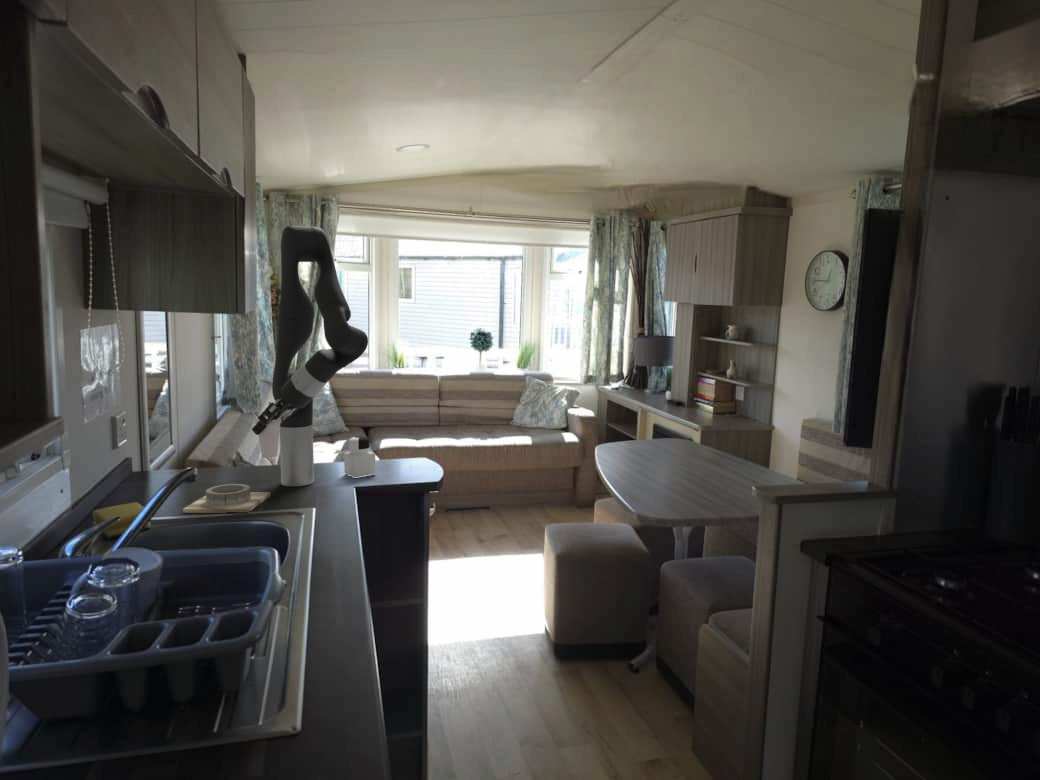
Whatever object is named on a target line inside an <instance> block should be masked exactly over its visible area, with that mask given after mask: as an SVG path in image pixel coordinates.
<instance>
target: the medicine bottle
mask: <svg viewBox="0 0 1040 780" xmlns="http://www.w3.org/2000/svg"><path fill="white" fill-rule="evenodd" d="M348 440H349V441H348V444H349V451H345V452H344V453H343V462H344V463H343V469H344V472H343V473H346V474H348V475H351V476H353V477H359V476H364V475H369V474H374V473H376V453H374V452H372V451H370V449H371V448H370V438H369V437H367V436H365V435H364V436H363V435H361V436H353V437H350V438H349V439H348Z"/></svg>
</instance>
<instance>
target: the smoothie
mask: <svg viewBox="0 0 1040 780" xmlns="http://www.w3.org/2000/svg"><path fill="white" fill-rule="evenodd" d="M270 403H272V402H271V401H268V406H269V405H270ZM266 419H268V417H266ZM259 421H260V420H259V419H258V417H257V418H255V420H254V424H255V425H256V424H257V423H258V422H259ZM281 422H282V421H281V418H279V419H278V420H277V421H275V420H274V421H273V422H272V423H270V425H268V426H267V427H266V428H265V429H264V430H263V431H262V432H261V433H260V434H259V435H257V436H258V442H259V448H260V453H261V458H268V459H269V458H274V457H275V458H276V457H278V453H279V452H278V450H279V443H280V423H281Z"/></svg>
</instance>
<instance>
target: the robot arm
mask: <svg viewBox="0 0 1040 780" xmlns="http://www.w3.org/2000/svg"><path fill="white" fill-rule="evenodd" d="M299 263H316V264H317V265H318V267H319V277H318V279H317V282H316V285H315V289H314V299H315V302H316V305H317V307H318V310H319V313H320V314H321V317H322V319H323V330H324V337H325V341H326V342H327V345H328V346H329V347H330V348H328V349H327V348H326V349H323V348H322V349H319V350H317V351H316V352H314V354H313V355H312V356H311V357H310V358H309V359H308V360H307V361H306V362H305V363H304V364H303V365H302V366H301V367H299V368H298V369H296V370H292V369H291V370H290V366H291V365H292V361H293V360H294V358H295V356H296V355H297V353H298V352H299V351H300V350H301V349H302V348H303V346H304V345H305V343H306V342H307V341H308V340H309V338H310V337H311V336H312V333H313V328H314V321H315V320H314V319H315V307H314V304H313V302H312V300H311V298H310V296H309V295H308V292H307V291H306V290H305V288H304V286H303V285H302V282H301V280H300V276H299ZM280 271H281V272H280V273H281V275H280V278H281V279H280V280H281V282H280V295H279V296H280V299H279V307H278V317H277V319H278V320H277V344H276V354H275V363H274V368H273V375H272V381H271V383H272V385H271V389H272V390H271V392H272V397H273V400H274V402H271V403H270V405H269V404H268V405H267V407H266V408H265V409H264V410H263V411H262V412H261V413H260V414H259V416H258V417H257V418H258V419H259V420H260V421H259V422H258V423H257V424H255V425H254V426H253V427H252V429H251V430H252V432H253V433H254V434H255V435H256V436H258V435H259V434H260V433H261V432H262V431H263V430H264V429H265V428H266V427H267V426H268V425H270V423H272V422H273V421H274V420H275V421H277V420H278V419H279V418H281V421H282V422H281V423H280V432H279V454H280V455H279V457H280V483H281V484H280V485H281V486H283V487H305V486H309V485H312V484H314V483H315V462H314V461H315V459H314V431H313V428H314V427H313V425H314V424H313V420H314V419H313V418H314V417H313V416H314V408H313V407H314V406H313V405H314V399H315V397H316V396H317V395H318V394H319V393H320V392H321V391H322V389H324V387H325V386H326V384H328V382H329V381H330V380H331V379H332V378H333V377H334V376H335V375H336V374H337V373H338V372H339V371H340V370H342V369H343V368H346V367H347V366H348V365H350V364H352V363H354V362H355V361H356V360H358V359H359V358H360V357H361V356H362V355H363V354H364V353H365V351H366V349H367V348H368V346H369V345H368V344H369V338H368V337H369V336H368V335H367V334H366V332H365V331H364V330H362V329H360V328H357V327H355V326H353V325H350V324H349V323H348V322H349V321H350V319H351V316H352V311H351V309H350V306H349V304H348V302H347V299H346V296H345V294H344V293H343V290H342V287H341V285H340V282H339V278H338V277H339V276H338V274H337V270H336V265H335V260H334V257H333V254H332V249H331V246H330V242H329V239H328V236H327V234H326V233H325V231H324V230H323V228H321V227H319V226H314V225H313V226H311V225H308V226H307V225H306V226H305V225H287V226H286V227H284V228H283V230H282V232H281V241H280ZM266 417H268V419H266Z"/></svg>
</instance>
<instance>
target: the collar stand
mask: <svg viewBox="0 0 1040 780" xmlns="http://www.w3.org/2000/svg"><path fill="white" fill-rule="evenodd" d="M271 496H272V495H271V492H270V491H264V492H261V491H258V492H257V491H255V492H254V491H253V492H252V491H251V487H250V485H248V484H243V483H227V484H220V485H216V486H215V485H214V486H211V487H209V488H207V489H205V495H204V496H202V497H200V498H198V499H197V500H195V501H193V502H192V503H190V504H189V505H187V506H185V507H184V508H182V513H183V514H228V513H227V512H248V513H250V512H251V511H252V510H255V508H257V506H259V505H260V504H262V503H263V502H264V501H266V500H267V499H269V498H270V497H271ZM249 511H250V512H249Z"/></svg>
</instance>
